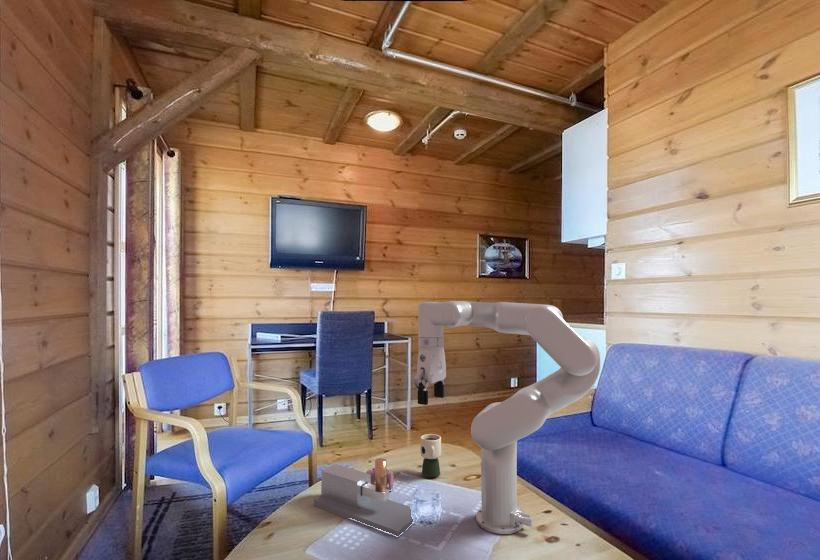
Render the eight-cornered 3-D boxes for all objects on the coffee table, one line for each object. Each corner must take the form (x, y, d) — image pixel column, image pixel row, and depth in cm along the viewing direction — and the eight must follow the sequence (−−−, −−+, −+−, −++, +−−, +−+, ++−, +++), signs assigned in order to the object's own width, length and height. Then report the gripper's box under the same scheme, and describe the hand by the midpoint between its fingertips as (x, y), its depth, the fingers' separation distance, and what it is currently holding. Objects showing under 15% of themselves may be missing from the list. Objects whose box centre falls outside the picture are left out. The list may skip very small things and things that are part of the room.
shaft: (389, 497, 113) (389, 460, 114) (383, 502, 111) (383, 464, 111) (335, 480, 125) (335, 446, 125) (328, 484, 122) (328, 449, 122)
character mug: (419, 469, 144) (419, 432, 144) (438, 468, 144) (438, 431, 145) (422, 483, 133) (422, 443, 134) (443, 482, 134) (443, 442, 134)
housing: (370, 499, 119) (370, 474, 119) (357, 508, 114) (357, 482, 114) (335, 488, 126) (335, 463, 127) (321, 495, 121) (321, 470, 122)
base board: (422, 516, 113) (422, 510, 113) (398, 538, 103) (398, 531, 103) (341, 489, 129) (341, 484, 129) (313, 505, 119) (313, 500, 119)
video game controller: (394, 492, 130) (395, 468, 134) (392, 491, 126) (393, 467, 130) (363, 491, 131) (365, 467, 134) (361, 490, 127) (363, 466, 130)
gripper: (427, 346, 112) (427, 409, 111) (455, 341, 126) (455, 396, 126) (404, 345, 116) (404, 405, 115) (434, 339, 131) (434, 393, 130)
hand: (431, 400), depth 120 cm, fingers open, 9 cm apart
